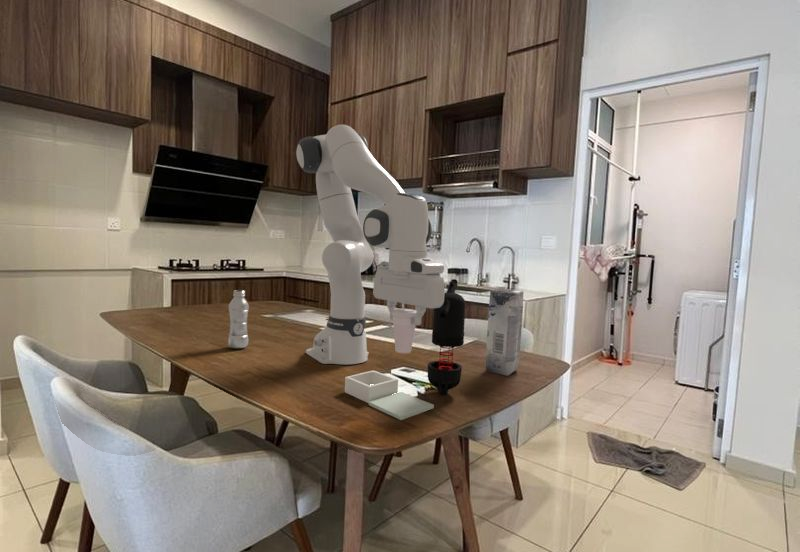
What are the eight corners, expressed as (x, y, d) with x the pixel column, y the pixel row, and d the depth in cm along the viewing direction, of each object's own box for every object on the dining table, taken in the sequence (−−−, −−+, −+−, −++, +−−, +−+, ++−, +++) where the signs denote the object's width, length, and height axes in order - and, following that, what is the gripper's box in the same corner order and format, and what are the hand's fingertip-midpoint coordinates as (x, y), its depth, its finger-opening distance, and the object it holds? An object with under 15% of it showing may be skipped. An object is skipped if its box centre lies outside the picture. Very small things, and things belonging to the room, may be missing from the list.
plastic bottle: (252, 347, 147) (253, 290, 146) (235, 351, 141) (236, 292, 140) (240, 344, 151) (241, 289, 149) (223, 348, 145) (224, 290, 143)
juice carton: (520, 370, 136) (526, 286, 134) (509, 378, 127) (515, 288, 125) (494, 364, 141) (499, 284, 138) (482, 371, 132) (487, 286, 130)
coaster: (368, 405, 101) (368, 401, 101) (401, 394, 108) (401, 391, 108) (401, 420, 93) (401, 416, 93) (433, 408, 101) (433, 404, 101)
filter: (431, 384, 118) (437, 277, 115) (463, 389, 115) (470, 279, 113) (418, 401, 105) (424, 281, 102) (454, 407, 102) (462, 283, 100)
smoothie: (397, 346, 104) (399, 290, 103) (421, 350, 101) (424, 292, 100) (384, 351, 98) (387, 292, 97) (409, 356, 95) (412, 294, 94)
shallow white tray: (344, 392, 109) (345, 376, 108) (372, 384, 115) (373, 370, 115) (368, 403, 102) (369, 387, 101) (397, 394, 108) (398, 379, 108)
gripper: (368, 260, 103) (366, 316, 104) (431, 266, 89) (428, 331, 90) (387, 260, 108) (385, 314, 109) (450, 266, 93) (446, 328, 94)
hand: (405, 322), depth 99 cm, fingers closed on smoothie, 6 cm apart
